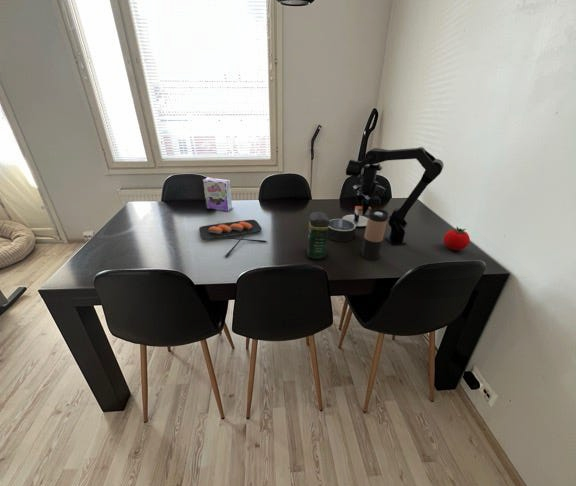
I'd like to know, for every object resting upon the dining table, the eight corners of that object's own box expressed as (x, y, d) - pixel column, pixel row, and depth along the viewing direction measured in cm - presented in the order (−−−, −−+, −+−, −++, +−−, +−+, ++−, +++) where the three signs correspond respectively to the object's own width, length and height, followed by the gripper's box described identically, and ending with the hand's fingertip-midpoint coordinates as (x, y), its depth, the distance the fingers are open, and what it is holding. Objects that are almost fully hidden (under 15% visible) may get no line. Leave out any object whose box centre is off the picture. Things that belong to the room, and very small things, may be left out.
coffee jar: (326, 260, 124) (331, 219, 113) (308, 260, 123) (311, 219, 113) (323, 248, 132) (327, 209, 121) (306, 248, 131) (308, 209, 121)
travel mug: (365, 249, 132) (374, 207, 121) (381, 255, 128) (392, 212, 117) (357, 255, 127) (365, 212, 116) (373, 262, 123) (383, 217, 112)
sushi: (367, 211, 143) (368, 205, 141) (370, 214, 140) (371, 208, 138) (354, 212, 141) (355, 206, 140) (357, 215, 138) (358, 209, 137)
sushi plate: (255, 222, 153) (255, 215, 151) (273, 249, 130) (273, 241, 128) (198, 229, 144) (197, 222, 142) (207, 260, 121) (206, 252, 119)
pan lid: (374, 226, 152) (376, 216, 149) (348, 228, 149) (349, 218, 146) (362, 215, 164) (364, 206, 161) (337, 217, 161) (339, 207, 158)
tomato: (468, 249, 135) (477, 229, 129) (460, 257, 129) (468, 236, 123) (445, 241, 141) (453, 221, 135) (436, 248, 135) (443, 228, 129)
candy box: (206, 208, 167) (201, 179, 157) (211, 205, 171) (207, 176, 162) (228, 212, 163) (225, 182, 154) (232, 208, 168) (230, 179, 159)
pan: (358, 240, 139) (360, 229, 136) (331, 242, 137) (332, 232, 134) (347, 227, 150) (349, 217, 147) (322, 229, 148) (323, 219, 145)
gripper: (395, 184, 125) (387, 218, 134) (376, 172, 140) (369, 203, 149) (371, 185, 123) (364, 220, 132) (354, 173, 138) (349, 204, 147)
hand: (362, 211), depth 140 cm, fingers closed on sushi, 3 cm apart
